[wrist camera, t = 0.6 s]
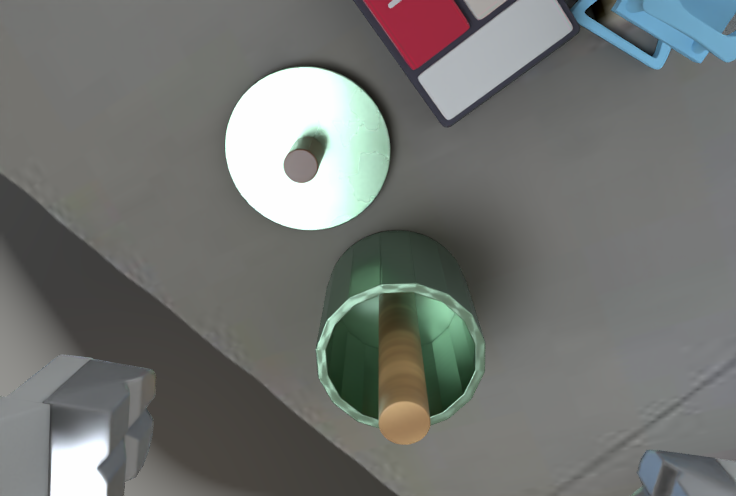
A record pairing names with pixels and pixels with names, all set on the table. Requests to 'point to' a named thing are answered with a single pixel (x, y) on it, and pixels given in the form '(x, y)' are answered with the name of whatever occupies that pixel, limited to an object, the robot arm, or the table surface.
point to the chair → (670, 27)
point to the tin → (435, 318)
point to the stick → (401, 371)
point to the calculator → (467, 45)
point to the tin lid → (307, 148)
